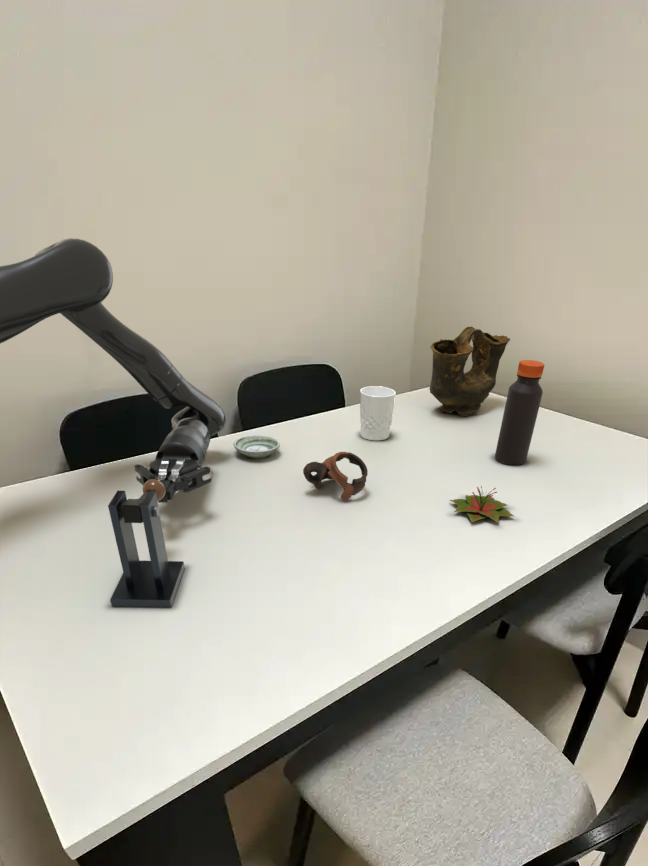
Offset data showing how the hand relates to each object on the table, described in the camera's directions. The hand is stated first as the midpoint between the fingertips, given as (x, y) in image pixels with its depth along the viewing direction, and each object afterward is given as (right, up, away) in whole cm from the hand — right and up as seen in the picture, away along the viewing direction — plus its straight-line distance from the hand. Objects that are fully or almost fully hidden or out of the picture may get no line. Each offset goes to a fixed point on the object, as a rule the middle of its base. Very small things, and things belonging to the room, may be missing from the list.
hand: (162, 497), depth 89 cm
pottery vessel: (+58, +36, +63) cm, 93 cm away
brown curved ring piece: (+26, +6, +22) cm, 34 cm away
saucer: (+9, +16, +34) cm, 39 cm away
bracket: (0, -14, -6) cm, 15 cm away
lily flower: (+53, +1, +18) cm, 56 cm away
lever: (0, -4, -8) cm, 9 cm away
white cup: (+35, +24, +46) cm, 62 cm away
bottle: (+64, +16, +38) cm, 76 cm away
